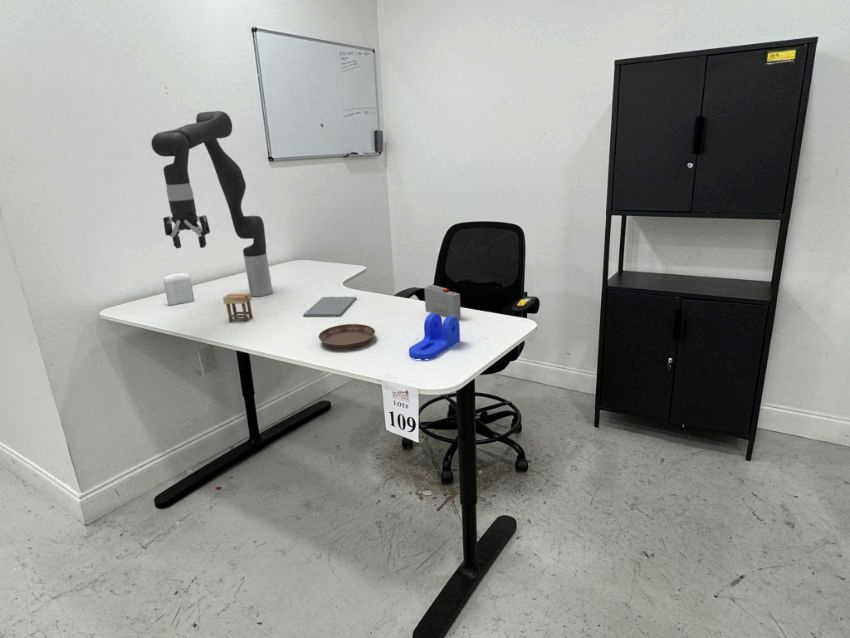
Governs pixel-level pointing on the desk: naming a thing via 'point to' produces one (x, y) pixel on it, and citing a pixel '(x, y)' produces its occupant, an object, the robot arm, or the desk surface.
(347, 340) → the plant saucer
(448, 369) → the desk surface
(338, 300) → the grey mat
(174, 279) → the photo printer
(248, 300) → the oak stool
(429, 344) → the bracket
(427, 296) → the cassette player
